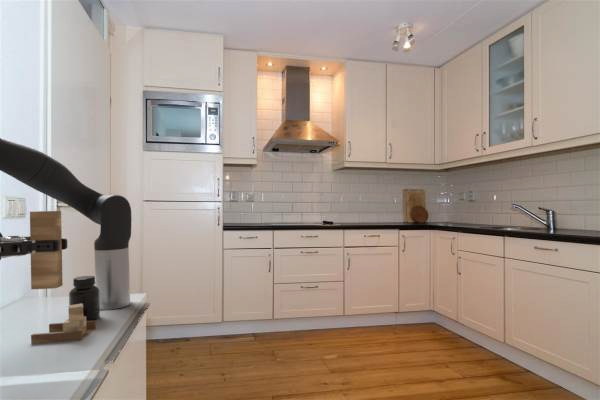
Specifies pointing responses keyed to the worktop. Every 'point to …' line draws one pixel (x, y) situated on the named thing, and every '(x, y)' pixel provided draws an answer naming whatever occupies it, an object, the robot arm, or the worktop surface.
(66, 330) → the pine offcut
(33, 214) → the oak board
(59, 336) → the walnut rack
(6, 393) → the worktop surface
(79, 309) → the small pine offcut
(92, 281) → the supplement bottle
